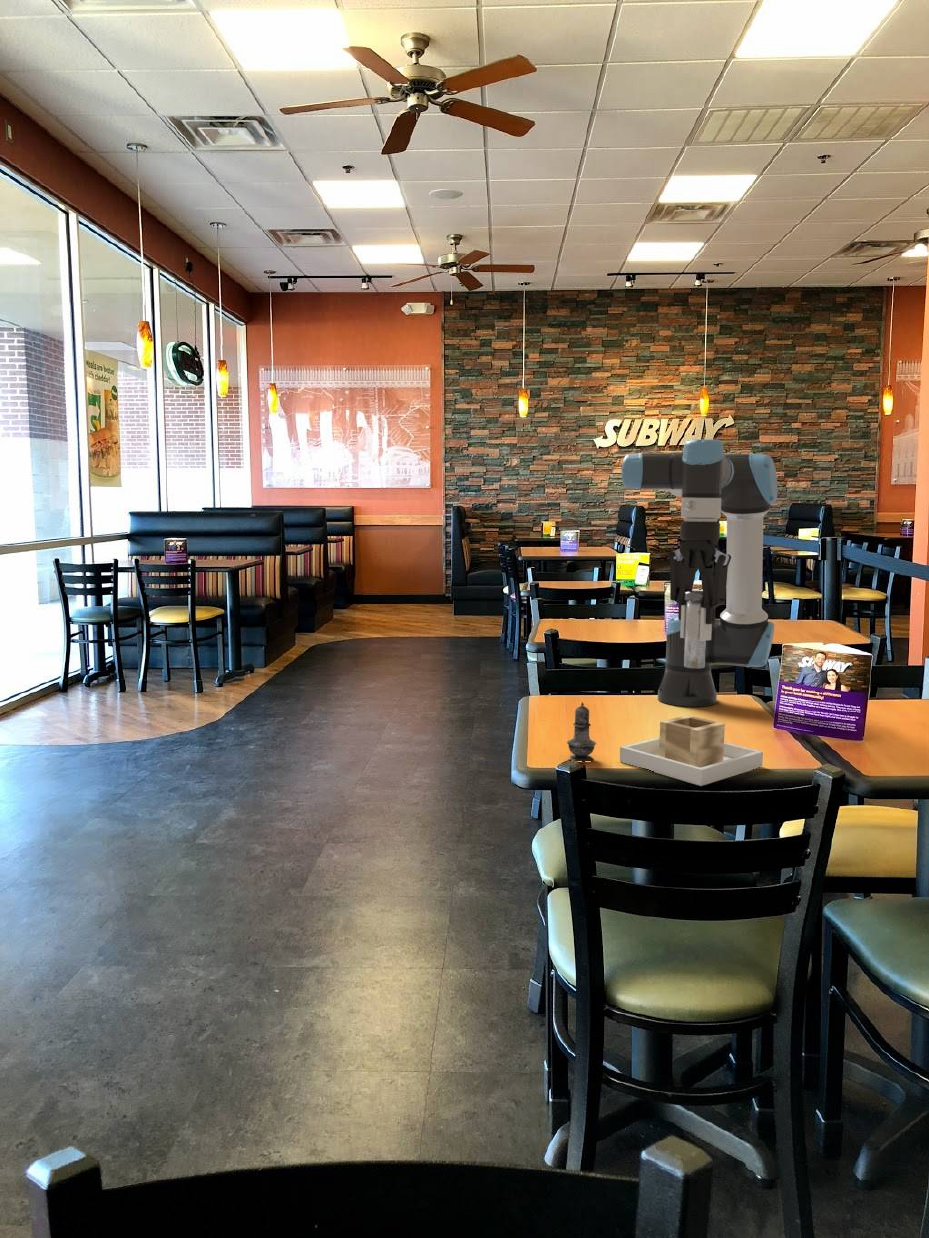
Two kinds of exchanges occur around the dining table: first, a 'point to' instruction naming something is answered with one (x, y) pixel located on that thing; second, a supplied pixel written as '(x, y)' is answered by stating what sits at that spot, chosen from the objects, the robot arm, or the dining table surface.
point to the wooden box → (692, 740)
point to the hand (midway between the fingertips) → (695, 638)
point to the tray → (732, 764)
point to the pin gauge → (694, 630)
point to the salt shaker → (581, 736)
